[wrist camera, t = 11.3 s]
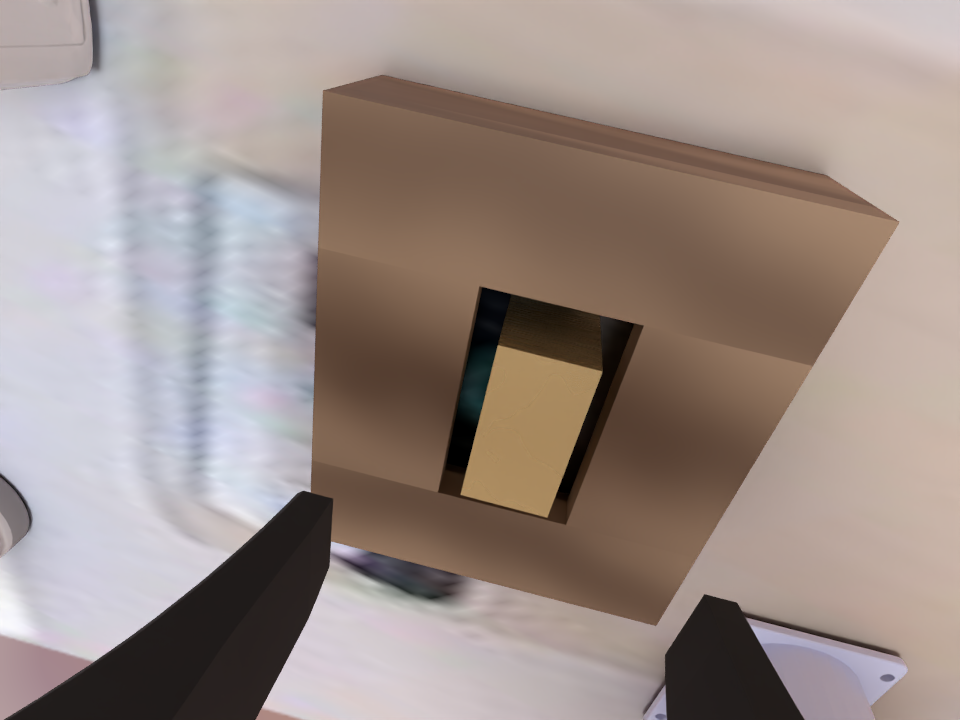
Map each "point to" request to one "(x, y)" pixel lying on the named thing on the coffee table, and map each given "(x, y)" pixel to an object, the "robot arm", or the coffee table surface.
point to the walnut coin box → (574, 284)
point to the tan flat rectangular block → (534, 404)
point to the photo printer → (44, 42)
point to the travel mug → (11, 518)
